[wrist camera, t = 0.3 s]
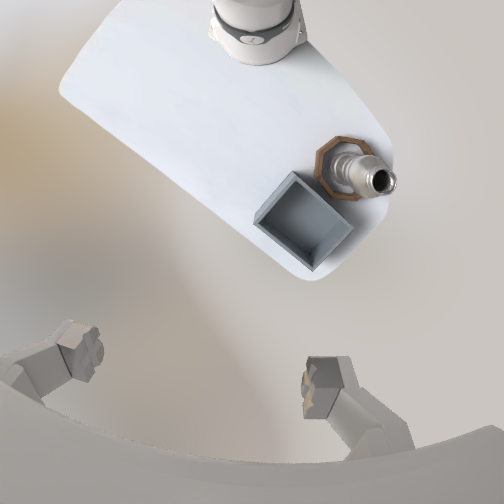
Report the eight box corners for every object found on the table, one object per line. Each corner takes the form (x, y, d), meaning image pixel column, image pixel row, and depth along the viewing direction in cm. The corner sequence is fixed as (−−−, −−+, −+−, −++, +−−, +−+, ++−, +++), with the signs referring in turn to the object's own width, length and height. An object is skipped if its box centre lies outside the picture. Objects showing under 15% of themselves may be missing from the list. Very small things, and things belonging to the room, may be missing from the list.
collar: (318, 133, 48) (321, 133, 45) (374, 143, 48) (380, 143, 45) (312, 193, 52) (314, 195, 50) (367, 200, 52) (372, 203, 49)
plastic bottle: (359, 185, 51) (404, 208, 33) (326, 182, 52) (357, 204, 33) (361, 153, 49) (409, 160, 30) (328, 149, 49) (361, 153, 31)
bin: (254, 214, 55) (253, 223, 48) (291, 171, 51) (295, 175, 45) (307, 257, 57) (312, 271, 51) (344, 218, 54) (354, 228, 47)
